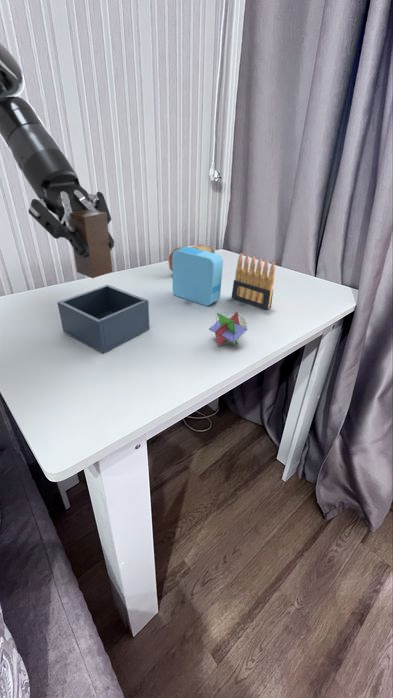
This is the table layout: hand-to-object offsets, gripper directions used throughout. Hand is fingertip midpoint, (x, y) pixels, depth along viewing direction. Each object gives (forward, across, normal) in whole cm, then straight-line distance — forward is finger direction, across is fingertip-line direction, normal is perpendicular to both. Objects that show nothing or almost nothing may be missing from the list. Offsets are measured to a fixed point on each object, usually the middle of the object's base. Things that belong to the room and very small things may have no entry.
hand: (99, 251), depth 56 cm
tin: (+5, +42, +22) cm, 48 cm away
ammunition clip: (+22, +36, +5) cm, 42 cm away
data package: (+13, +29, +14) cm, 34 cm away
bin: (+10, +3, +16) cm, 19 cm away
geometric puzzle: (+26, +15, +1) cm, 30 cm away
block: (+2, 0, +4) cm, 4 cm away
